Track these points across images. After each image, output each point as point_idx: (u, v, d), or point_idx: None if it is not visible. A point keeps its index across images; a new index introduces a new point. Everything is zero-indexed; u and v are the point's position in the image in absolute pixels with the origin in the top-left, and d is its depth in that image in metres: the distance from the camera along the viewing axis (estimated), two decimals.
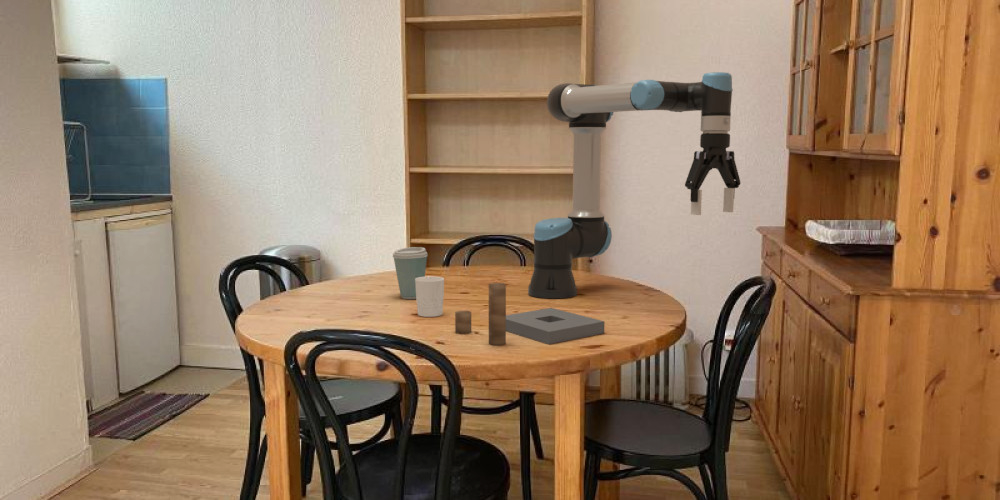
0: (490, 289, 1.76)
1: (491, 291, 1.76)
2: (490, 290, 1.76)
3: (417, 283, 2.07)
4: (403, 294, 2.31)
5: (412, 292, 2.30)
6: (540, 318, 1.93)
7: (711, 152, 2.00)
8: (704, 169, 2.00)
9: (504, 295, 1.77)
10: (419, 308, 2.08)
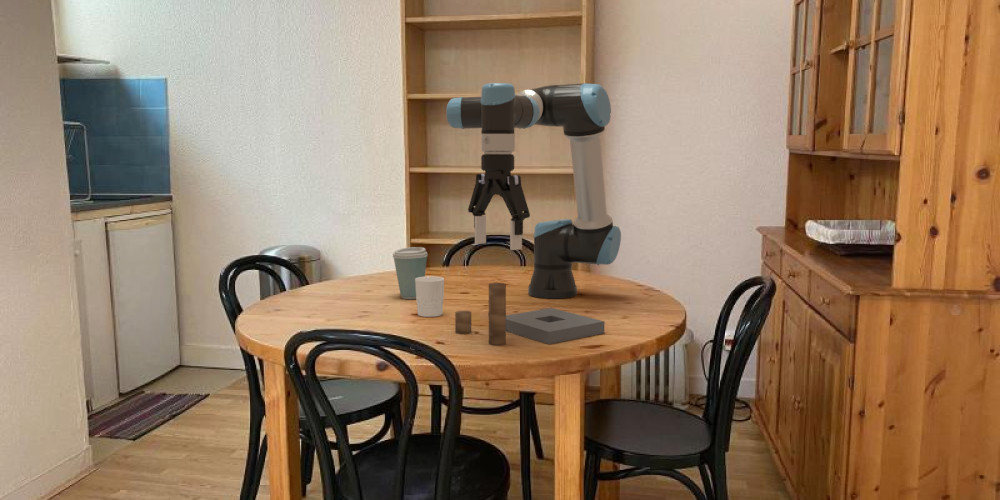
0: (490, 289, 1.76)
1: (491, 291, 1.76)
2: (490, 290, 1.76)
3: (417, 283, 2.07)
4: (403, 294, 2.31)
5: (412, 292, 2.30)
6: (540, 318, 1.93)
7: (486, 175, 1.76)
8: None
9: (504, 295, 1.77)
10: (419, 308, 2.08)
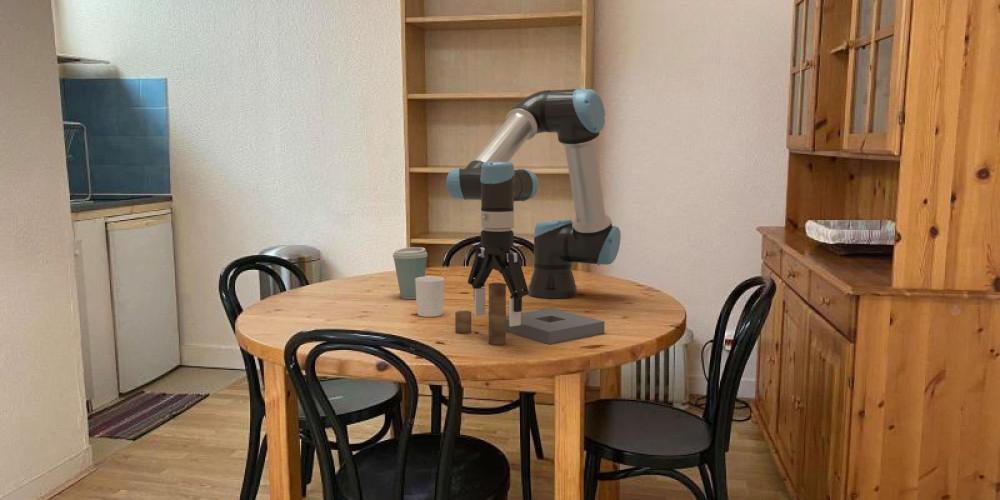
0: (490, 289, 1.76)
1: (491, 291, 1.76)
2: (490, 290, 1.76)
3: (417, 283, 2.07)
4: (403, 294, 2.31)
5: (412, 292, 2.30)
6: (540, 318, 1.93)
7: (486, 250, 1.78)
8: None
9: (504, 295, 1.77)
10: (419, 308, 2.08)
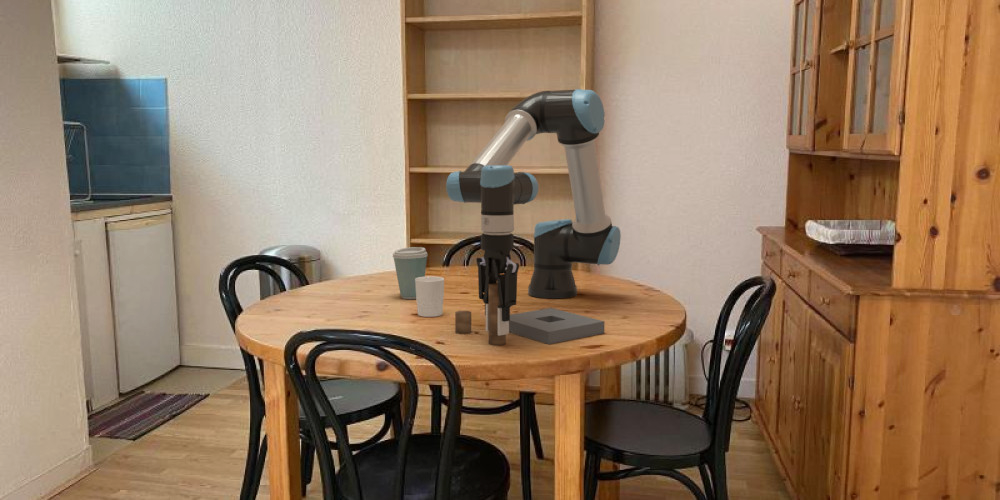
0: (490, 289, 1.76)
1: (491, 291, 1.76)
2: (490, 290, 1.76)
3: (417, 283, 2.07)
4: (403, 294, 2.31)
5: (412, 292, 2.30)
6: (540, 318, 1.93)
7: (485, 253, 1.78)
8: None
9: None
10: (419, 308, 2.08)
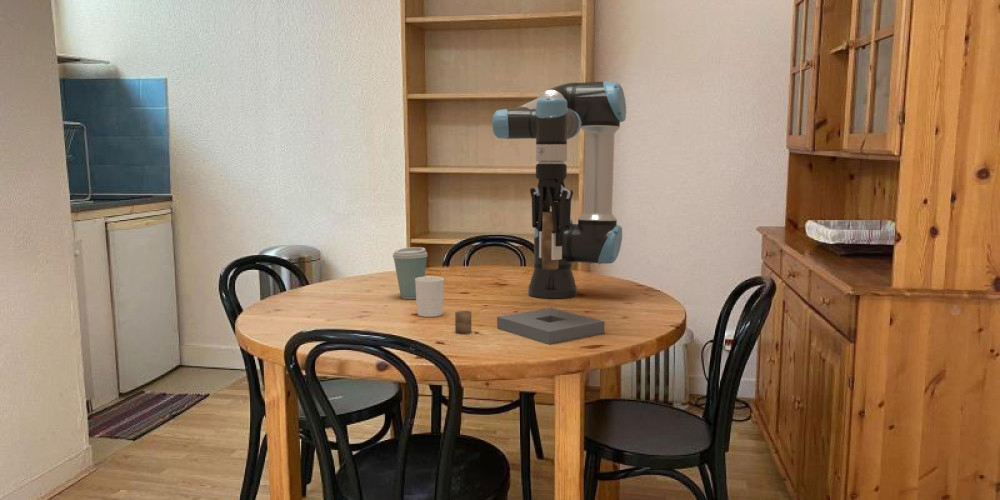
0: (544, 216, 1.87)
1: (546, 217, 1.86)
2: (545, 217, 1.86)
3: (417, 283, 2.07)
4: (403, 294, 2.31)
5: (412, 292, 2.30)
6: (540, 318, 1.93)
7: (539, 183, 1.89)
8: None
9: None
10: (419, 308, 2.08)
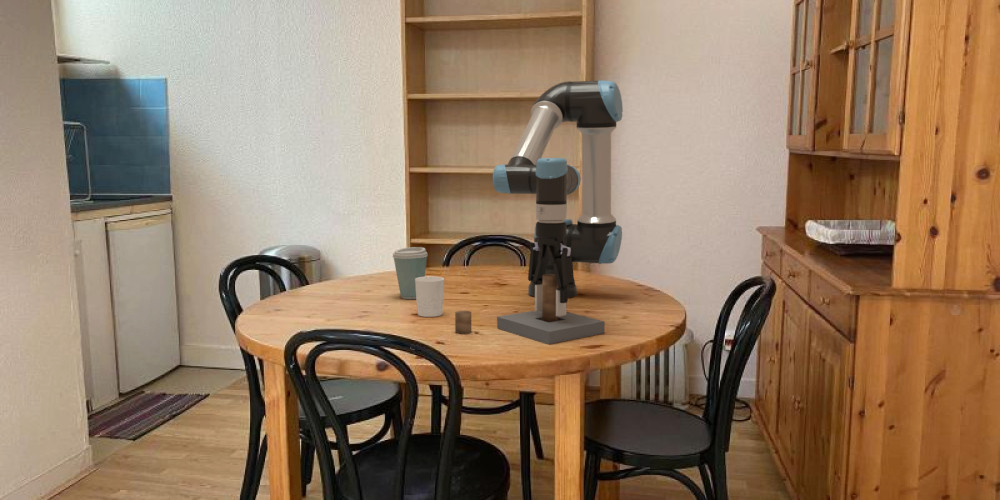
0: (544, 280, 1.89)
1: (546, 281, 1.88)
2: (545, 280, 1.89)
3: (417, 283, 2.07)
4: (403, 294, 2.31)
5: (412, 292, 2.30)
6: (540, 318, 1.93)
7: (539, 240, 1.90)
8: None
9: (557, 285, 1.89)
10: (419, 308, 2.08)
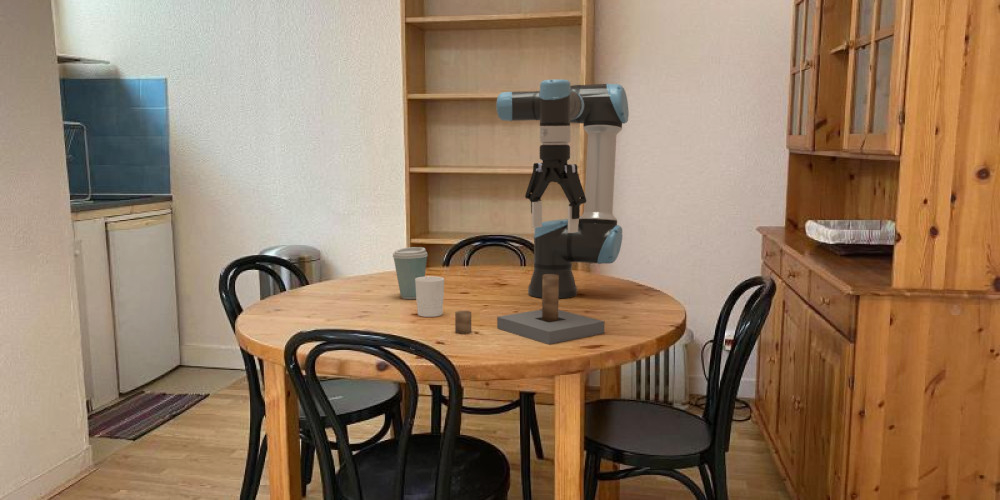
0: (544, 280, 1.89)
1: (546, 281, 1.88)
2: (545, 280, 1.89)
3: (417, 283, 2.07)
4: (403, 294, 2.31)
5: (412, 292, 2.30)
6: (540, 318, 1.93)
7: (544, 164, 1.91)
8: None
9: (557, 285, 1.89)
10: (419, 308, 2.08)
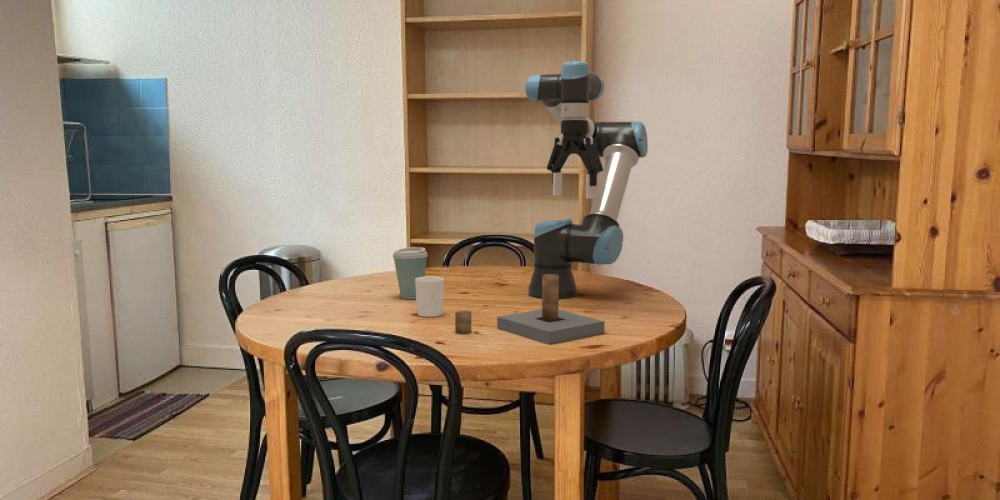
0: (544, 280, 1.89)
1: (546, 281, 1.88)
2: (545, 280, 1.89)
3: (417, 283, 2.07)
4: (403, 294, 2.31)
5: (412, 292, 2.30)
6: (540, 318, 1.93)
7: (564, 138, 2.13)
8: None
9: (557, 285, 1.89)
10: (419, 308, 2.08)
